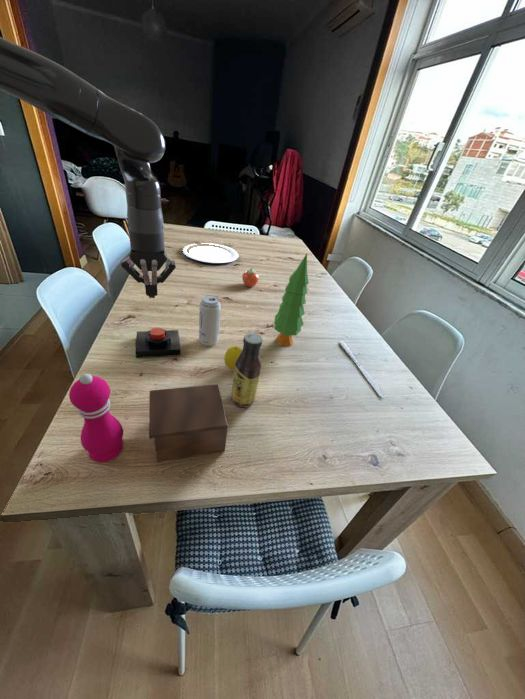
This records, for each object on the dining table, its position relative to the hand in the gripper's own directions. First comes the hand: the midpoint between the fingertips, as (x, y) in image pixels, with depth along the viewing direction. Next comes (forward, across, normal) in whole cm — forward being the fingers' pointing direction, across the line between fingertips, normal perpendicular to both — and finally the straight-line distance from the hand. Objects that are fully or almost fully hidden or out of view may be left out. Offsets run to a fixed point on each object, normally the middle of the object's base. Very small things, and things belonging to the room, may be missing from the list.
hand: (151, 296), depth 76 cm
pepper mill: (+17, +10, +33) cm, 38 cm away
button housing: (+17, -1, -1) cm, 17 cm away
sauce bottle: (+17, -21, +24) cm, 36 cm away
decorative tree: (+17, -41, 0) cm, 44 cm away
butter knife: (+17, -61, +16) cm, 65 cm away
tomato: (+16, -40, -43) cm, 61 cm away
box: (+17, -7, +32) cm, 37 cm away
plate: (+16, -28, -79) cm, 85 cm away
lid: (+9, -6, +32) cm, 34 cm away
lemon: (+17, -21, +12) cm, 29 cm away
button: (+13, -1, -1) cm, 13 cm away
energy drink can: (+17, -16, -2) cm, 23 cm away
